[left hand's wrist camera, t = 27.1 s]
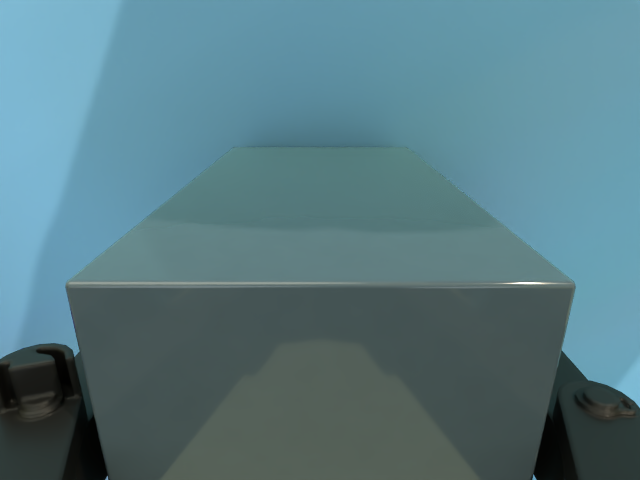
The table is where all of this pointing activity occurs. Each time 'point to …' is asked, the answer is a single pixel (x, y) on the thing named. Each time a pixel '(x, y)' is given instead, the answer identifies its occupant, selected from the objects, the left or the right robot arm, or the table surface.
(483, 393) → the block
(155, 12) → the table surface
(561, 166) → the table surface
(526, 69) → the table surface
